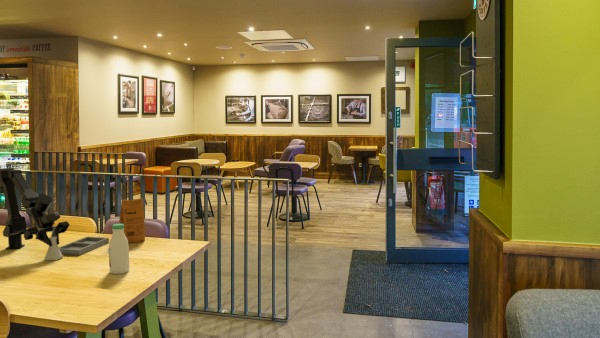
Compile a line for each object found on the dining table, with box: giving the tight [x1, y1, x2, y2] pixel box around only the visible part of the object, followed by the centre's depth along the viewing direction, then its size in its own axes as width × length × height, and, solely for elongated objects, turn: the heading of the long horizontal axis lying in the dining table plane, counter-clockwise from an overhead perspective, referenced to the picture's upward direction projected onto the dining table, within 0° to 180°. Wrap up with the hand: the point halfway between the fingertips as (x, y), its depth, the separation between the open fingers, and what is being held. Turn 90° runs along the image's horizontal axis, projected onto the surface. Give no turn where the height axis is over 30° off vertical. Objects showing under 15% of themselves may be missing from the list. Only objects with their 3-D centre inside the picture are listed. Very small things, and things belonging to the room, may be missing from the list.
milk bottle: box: [108, 223, 130, 275], centre depth 199 cm, size 8×8×20 cm
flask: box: [44, 236, 64, 262], centre depth 217 cm, size 7×7×10 cm
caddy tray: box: [58, 236, 110, 256], centre depth 235 cm, size 12×24×2 cm, turn 169°
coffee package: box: [118, 197, 146, 244], centre depth 249 cm, size 10×12×22 cm
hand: (54, 245), depth 216 cm, fingers closed on flask, 3 cm apart
